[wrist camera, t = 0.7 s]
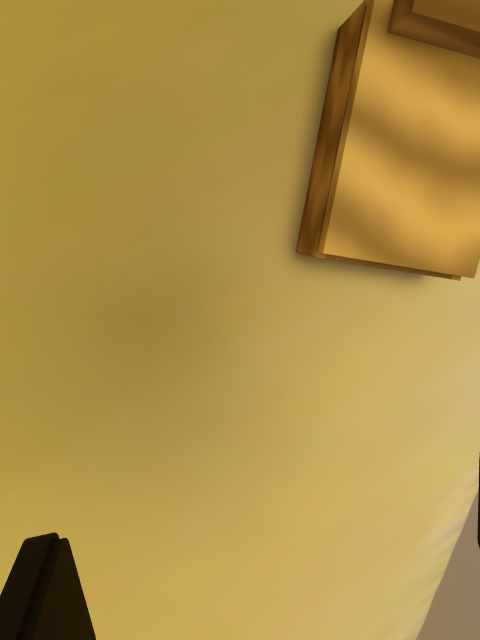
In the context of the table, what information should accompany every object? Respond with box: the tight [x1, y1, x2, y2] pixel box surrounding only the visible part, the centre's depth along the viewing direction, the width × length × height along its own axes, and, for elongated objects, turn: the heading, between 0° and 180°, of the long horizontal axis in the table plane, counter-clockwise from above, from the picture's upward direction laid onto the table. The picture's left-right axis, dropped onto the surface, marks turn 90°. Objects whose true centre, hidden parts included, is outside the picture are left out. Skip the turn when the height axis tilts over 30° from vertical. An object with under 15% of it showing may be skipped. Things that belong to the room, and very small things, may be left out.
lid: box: [318, 0, 480, 278], centre depth 30 cm, size 17×13×4 cm
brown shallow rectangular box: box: [296, 0, 461, 281], centre depth 35 cm, size 18×13×5 cm
